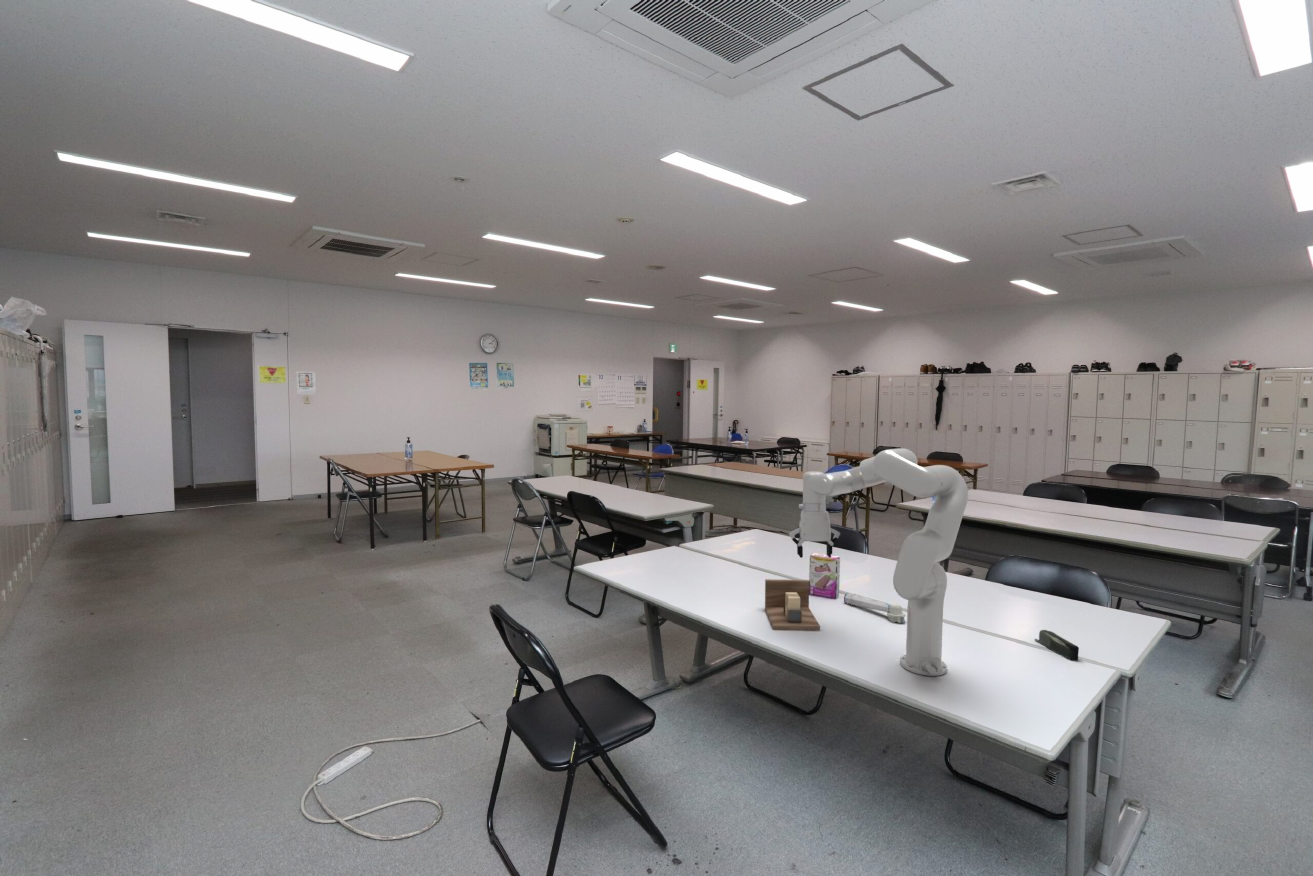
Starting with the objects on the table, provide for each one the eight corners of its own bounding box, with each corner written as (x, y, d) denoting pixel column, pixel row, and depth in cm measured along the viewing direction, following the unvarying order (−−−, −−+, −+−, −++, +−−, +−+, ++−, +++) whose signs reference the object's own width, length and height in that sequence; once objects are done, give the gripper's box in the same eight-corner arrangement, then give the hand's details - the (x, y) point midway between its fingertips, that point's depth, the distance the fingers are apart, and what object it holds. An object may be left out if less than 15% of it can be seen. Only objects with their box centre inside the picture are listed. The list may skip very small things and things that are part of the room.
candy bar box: (808, 595, 235) (809, 555, 234) (811, 591, 239) (812, 552, 238) (836, 599, 229) (837, 558, 228) (839, 596, 234) (840, 556, 233)
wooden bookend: (820, 630, 199) (820, 597, 198) (773, 629, 200) (773, 597, 199) (807, 610, 218) (808, 579, 218) (764, 609, 219) (765, 579, 218)
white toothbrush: (851, 592, 228) (907, 602, 206) (852, 609, 227) (909, 621, 206) (841, 594, 225) (897, 604, 204) (843, 611, 225) (899, 624, 203)
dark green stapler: (1081, 646, 175) (1041, 625, 190) (1072, 646, 175) (1033, 626, 190) (1079, 661, 176) (1040, 640, 191) (1071, 662, 175) (1032, 640, 190)
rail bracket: (800, 620, 204) (800, 598, 203) (788, 620, 204) (788, 598, 204) (796, 614, 210) (796, 592, 209) (785, 614, 210) (785, 592, 210)
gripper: (791, 509, 197) (791, 559, 198) (842, 508, 197) (843, 559, 197) (786, 506, 205) (787, 554, 205) (836, 505, 204) (836, 553, 205)
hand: (814, 556), depth 201 cm, fingers open, 9 cm apart
